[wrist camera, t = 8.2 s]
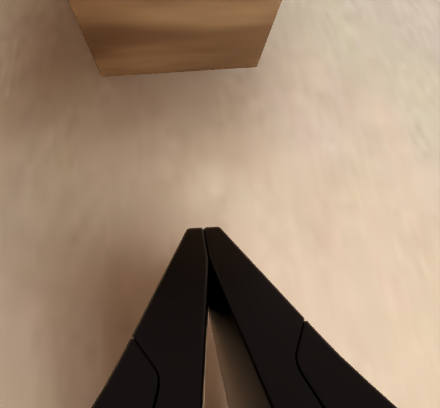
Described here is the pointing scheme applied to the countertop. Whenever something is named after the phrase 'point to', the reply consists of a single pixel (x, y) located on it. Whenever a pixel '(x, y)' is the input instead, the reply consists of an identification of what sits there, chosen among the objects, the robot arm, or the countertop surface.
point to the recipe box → (174, 33)
